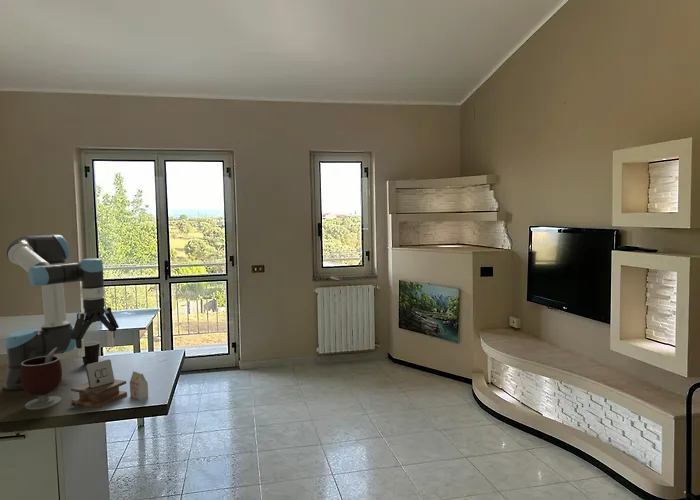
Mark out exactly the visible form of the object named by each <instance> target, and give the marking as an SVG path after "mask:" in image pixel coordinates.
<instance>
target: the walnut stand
mask: <svg viewBox="0 0 700 500" xmlns="http://www.w3.org/2000/svg"><path fill="white" fill-rule="evenodd" d="M114 380H115V381H114V382H112V383H109V384H105V385H102V386H98V387H95V388H91V387H90V386H89V383H88V381H87V382H85V383H82V384H79V385H76V386H74V387H71V388H70V392H74V393H79V396H77V397H75V398H72V399H71V404H72V403H75V404H74V405H77V404H80V405H79V406H83V405H84V406H85V407H88V406H90V407H89V408H95V409H100V408H101V407H104V406H107V405H109V404H111V403H113V402H116V401H118V400H120V399H123V398H125V397H127V396H128V392H127V391H122V390H120V387H121V386H124V385H126V384H127V380H121V379H115V378H114ZM96 382H97V381H96Z"/></svg>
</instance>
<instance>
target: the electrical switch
mask: <svg viewBox="0 0 700 500" xmlns="http://www.w3.org/2000/svg"><path fill="white" fill-rule="evenodd" d="M84 367H85V372H86V378H87V382H88V383H89V386H90V387H91V388H95V387H98V386H102V385H105V384H109V383H112V382H114V381H115V380H114V379H115V377H114V376H115V375H114V370H113V365H112V360H111V359H109V358H108V359H104V360H101V361H98V362H96V363H92V364H88V365H87V366H84ZM96 381H97V382H96Z"/></svg>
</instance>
